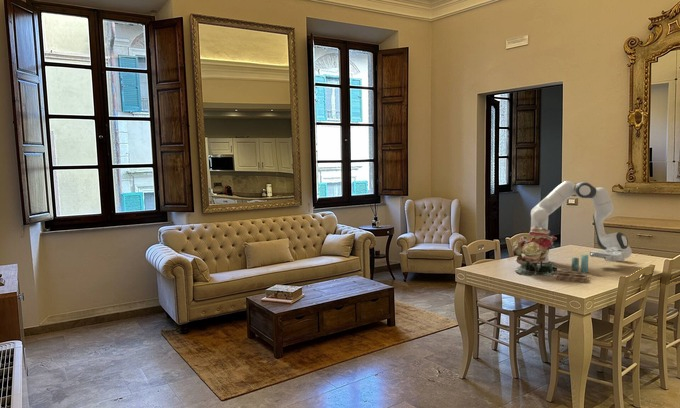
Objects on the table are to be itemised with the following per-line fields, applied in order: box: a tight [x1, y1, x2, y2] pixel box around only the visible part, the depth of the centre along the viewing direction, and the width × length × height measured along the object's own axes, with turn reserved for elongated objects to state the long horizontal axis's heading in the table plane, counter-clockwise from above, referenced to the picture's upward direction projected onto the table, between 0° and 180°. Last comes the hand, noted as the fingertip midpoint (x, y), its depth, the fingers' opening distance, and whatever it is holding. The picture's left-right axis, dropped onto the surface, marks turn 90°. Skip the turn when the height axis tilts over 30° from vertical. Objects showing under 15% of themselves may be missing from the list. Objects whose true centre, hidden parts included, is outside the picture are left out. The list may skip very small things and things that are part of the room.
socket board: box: [556, 271, 588, 284], centre depth 286 cm, size 16×10×2 cm, turn 61°
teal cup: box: [558, 257, 582, 274], centre depth 298 cm, size 12×7×10 cm, turn 61°
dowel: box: [580, 254, 589, 274], centre depth 302 cm, size 4×4×11 cm
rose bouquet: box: [510, 226, 559, 277], centre depth 305 cm, size 26×29×30 cm
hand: (598, 256), depth 307 cm, fingers open, 8 cm apart
